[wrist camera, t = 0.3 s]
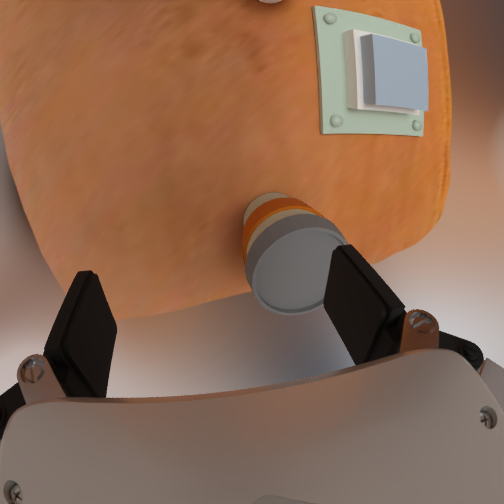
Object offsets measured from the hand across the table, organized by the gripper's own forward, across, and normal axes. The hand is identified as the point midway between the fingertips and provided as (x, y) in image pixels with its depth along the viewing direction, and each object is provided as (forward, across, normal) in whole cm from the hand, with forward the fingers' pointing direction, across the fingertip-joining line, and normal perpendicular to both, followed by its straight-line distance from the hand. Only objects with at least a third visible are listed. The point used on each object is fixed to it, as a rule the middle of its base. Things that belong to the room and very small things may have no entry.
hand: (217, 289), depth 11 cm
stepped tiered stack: (+30, -26, -13) cm, 42 cm away
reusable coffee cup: (+30, -10, +12) cm, 34 cm away
